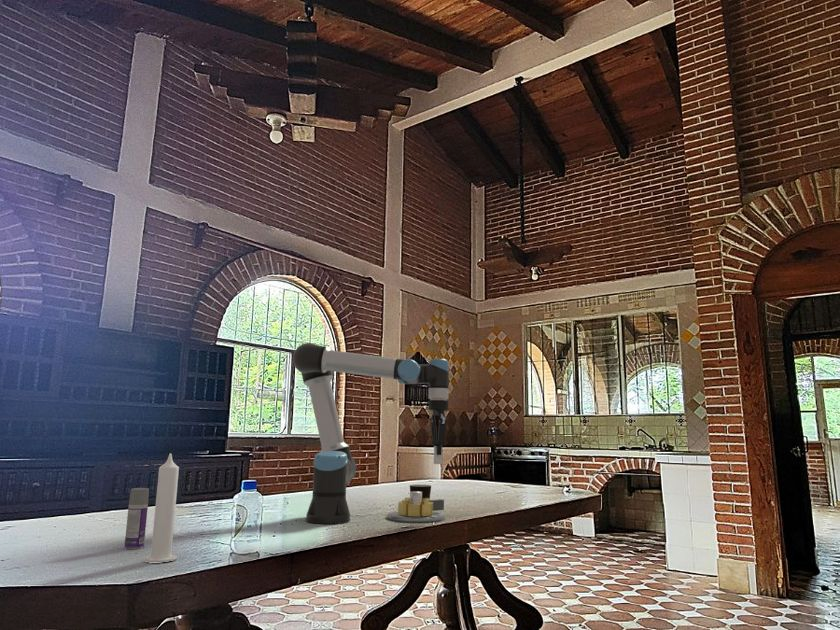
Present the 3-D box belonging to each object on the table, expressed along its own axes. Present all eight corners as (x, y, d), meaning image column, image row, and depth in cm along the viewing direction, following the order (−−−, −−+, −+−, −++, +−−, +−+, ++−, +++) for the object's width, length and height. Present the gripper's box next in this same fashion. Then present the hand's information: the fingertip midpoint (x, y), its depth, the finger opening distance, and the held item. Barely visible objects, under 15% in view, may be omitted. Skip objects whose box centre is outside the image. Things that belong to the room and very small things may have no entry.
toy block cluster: (412, 517, 207) (413, 501, 208) (392, 513, 216) (392, 498, 217) (452, 513, 218) (452, 498, 219) (431, 509, 228) (431, 495, 229)
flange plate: (384, 522, 205) (384, 494, 207) (389, 513, 226) (390, 488, 227) (444, 523, 204) (444, 495, 206) (444, 514, 225) (444, 489, 226)
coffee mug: (428, 513, 227) (429, 486, 229) (407, 512, 229) (407, 486, 231) (434, 509, 238) (434, 484, 240) (413, 509, 240) (413, 483, 242)
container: (138, 545, 159) (144, 487, 162) (147, 547, 156) (152, 488, 159) (120, 547, 155) (127, 488, 158) (129, 550, 152) (135, 489, 155)
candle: (180, 557, 145) (189, 453, 150) (169, 563, 138) (179, 454, 143) (151, 557, 145) (161, 452, 149) (139, 563, 138) (150, 453, 142)
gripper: (453, 399, 219) (453, 465, 214) (442, 400, 231) (441, 462, 226) (434, 398, 216) (433, 465, 212) (424, 400, 229) (422, 462, 224)
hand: (437, 463), depth 219 cm, fingers closed
